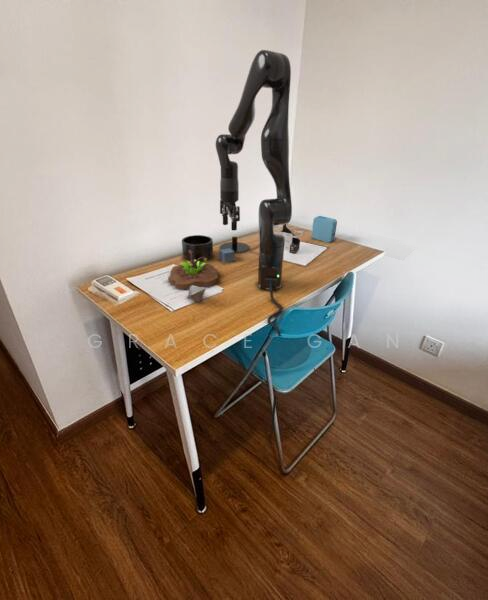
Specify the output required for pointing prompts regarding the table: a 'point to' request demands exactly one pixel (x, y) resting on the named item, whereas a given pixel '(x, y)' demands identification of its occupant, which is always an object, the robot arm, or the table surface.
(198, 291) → the paper boat
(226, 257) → the block
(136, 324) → the table surface
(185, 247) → the pot
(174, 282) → the plant
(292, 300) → the table surface
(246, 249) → the lid
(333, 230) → the data package
